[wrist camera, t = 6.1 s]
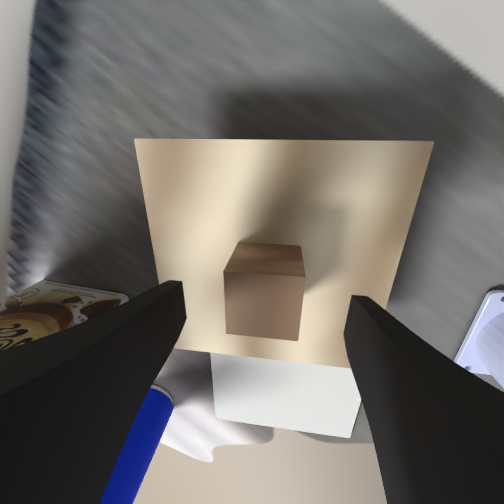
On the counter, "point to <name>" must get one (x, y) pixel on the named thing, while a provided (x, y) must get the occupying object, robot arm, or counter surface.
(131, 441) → the beverage can
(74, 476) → the robot arm
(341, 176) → the lid
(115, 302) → the coffee box
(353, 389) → the mat
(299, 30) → the counter surface
